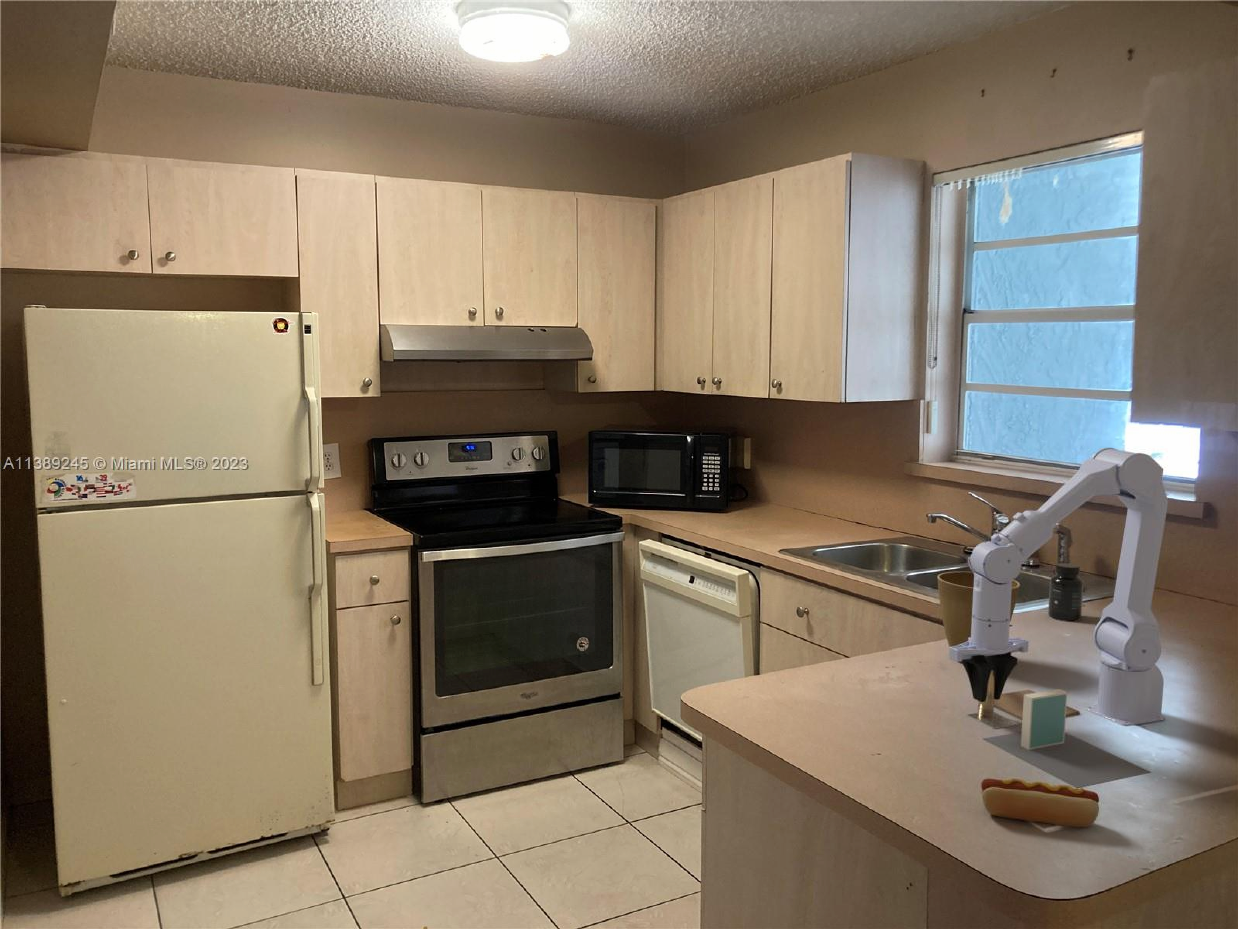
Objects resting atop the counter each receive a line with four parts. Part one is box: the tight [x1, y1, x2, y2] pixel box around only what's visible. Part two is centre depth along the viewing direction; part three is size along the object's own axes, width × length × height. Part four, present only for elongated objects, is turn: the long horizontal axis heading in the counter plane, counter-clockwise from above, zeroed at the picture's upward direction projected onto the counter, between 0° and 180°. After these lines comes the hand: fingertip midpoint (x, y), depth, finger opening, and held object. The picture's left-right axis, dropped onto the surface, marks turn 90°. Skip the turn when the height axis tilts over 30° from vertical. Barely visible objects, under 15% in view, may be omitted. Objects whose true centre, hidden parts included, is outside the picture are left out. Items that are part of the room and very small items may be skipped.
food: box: [980, 778, 1100, 828], centre depth 124 cm, size 14×6×5 cm, turn 74°
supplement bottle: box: [1047, 562, 1084, 622], centre depth 219 cm, size 7×7×12 cm
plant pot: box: [937, 571, 1021, 664], centre depth 188 cm, size 15×15×16 cm
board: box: [994, 689, 1081, 721], centre depth 163 cm, size 11×11×1 cm
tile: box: [1021, 688, 1068, 750], centre depth 146 cm, size 7×2×8 cm, turn 112°
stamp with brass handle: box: [966, 667, 1019, 730], centre depth 156 cm, size 6×5×9 cm
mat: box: [982, 731, 1152, 789], centre depth 143 cm, size 14×18×1 cm
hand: (986, 698), depth 158 cm, fingers closed on stamp with brass handle, 2 cm apart
